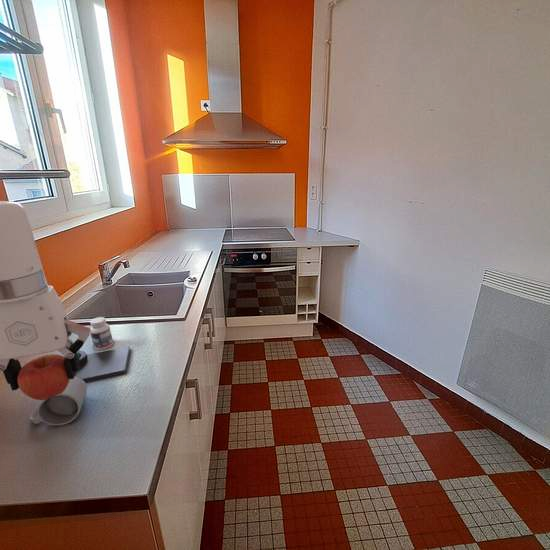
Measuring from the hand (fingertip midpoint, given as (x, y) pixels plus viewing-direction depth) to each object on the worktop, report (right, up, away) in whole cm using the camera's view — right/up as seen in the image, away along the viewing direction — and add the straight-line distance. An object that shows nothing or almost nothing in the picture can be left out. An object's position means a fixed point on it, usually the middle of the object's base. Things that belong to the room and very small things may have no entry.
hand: (47, 378), depth 52 cm
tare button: (-16, -5, +31) cm, 35 cm away
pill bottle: (-14, -4, +41) cm, 44 cm away
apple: (0, -3, +1) cm, 4 cm away
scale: (-10, -8, +30) cm, 33 cm away
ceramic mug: (-8, -13, +15) cm, 22 cm away
